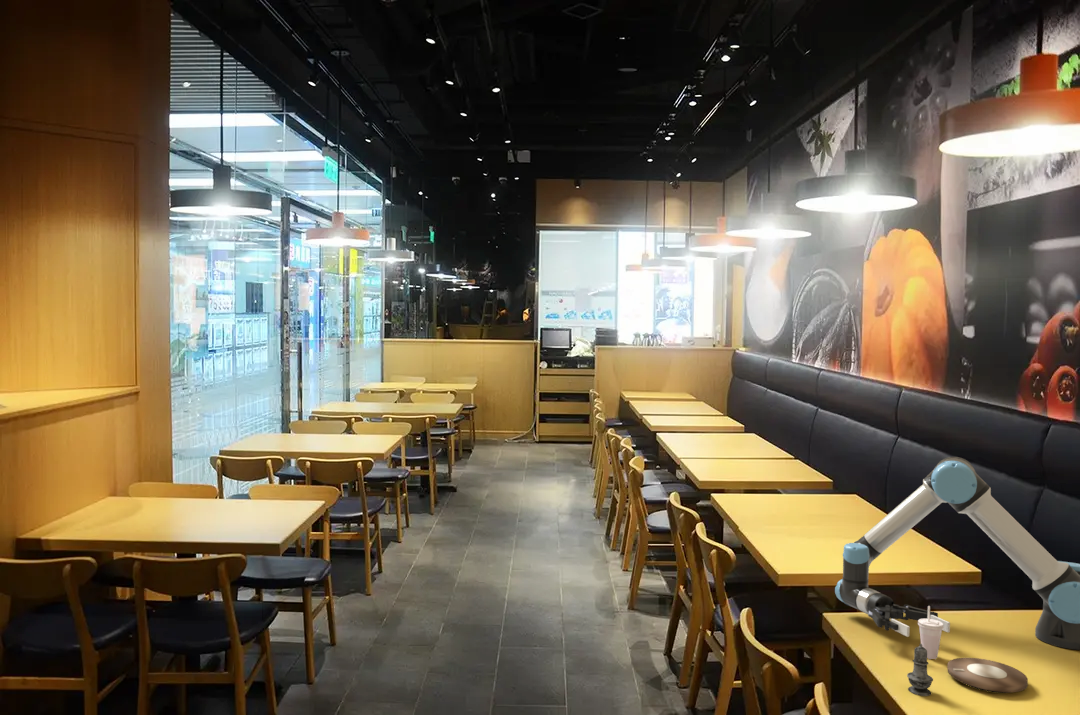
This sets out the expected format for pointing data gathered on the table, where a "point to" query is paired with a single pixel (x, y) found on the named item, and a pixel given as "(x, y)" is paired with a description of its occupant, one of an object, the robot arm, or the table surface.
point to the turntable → (987, 674)
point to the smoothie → (930, 635)
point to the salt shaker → (920, 673)
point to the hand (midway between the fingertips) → (928, 629)
